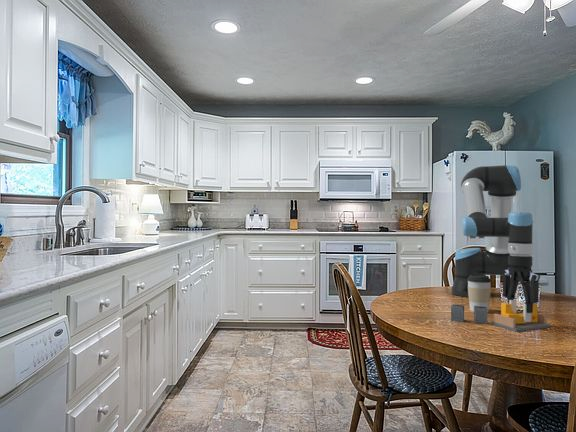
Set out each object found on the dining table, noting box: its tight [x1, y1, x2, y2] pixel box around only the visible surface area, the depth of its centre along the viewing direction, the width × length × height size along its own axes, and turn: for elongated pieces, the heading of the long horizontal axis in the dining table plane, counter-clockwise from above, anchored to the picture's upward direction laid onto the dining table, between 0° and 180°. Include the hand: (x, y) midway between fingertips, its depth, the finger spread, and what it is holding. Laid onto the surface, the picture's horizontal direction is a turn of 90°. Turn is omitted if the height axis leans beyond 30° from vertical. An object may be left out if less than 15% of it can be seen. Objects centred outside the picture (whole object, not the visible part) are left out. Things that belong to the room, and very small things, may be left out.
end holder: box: [491, 313, 550, 332], centre depth 139 cm, size 16×10×4 cm, turn 110°
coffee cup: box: [467, 274, 492, 313], centre depth 161 cm, size 9×9×15 cm
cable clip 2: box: [473, 306, 488, 325], centre depth 143 cm, size 4×3×6 cm
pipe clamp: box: [500, 302, 539, 324], centre depth 139 cm, size 12×4×6 cm, turn 94°
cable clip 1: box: [450, 303, 465, 323], centre depth 146 cm, size 4×3×6 cm
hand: (519, 319), depth 139 cm, fingers closed on pipe clamp, 5 cm apart
